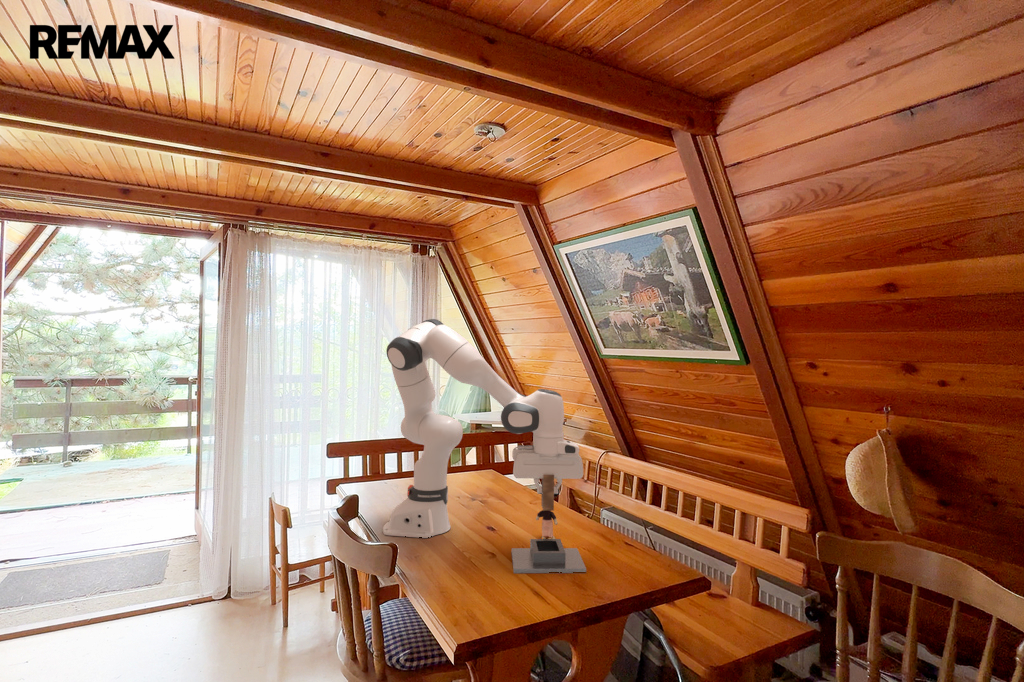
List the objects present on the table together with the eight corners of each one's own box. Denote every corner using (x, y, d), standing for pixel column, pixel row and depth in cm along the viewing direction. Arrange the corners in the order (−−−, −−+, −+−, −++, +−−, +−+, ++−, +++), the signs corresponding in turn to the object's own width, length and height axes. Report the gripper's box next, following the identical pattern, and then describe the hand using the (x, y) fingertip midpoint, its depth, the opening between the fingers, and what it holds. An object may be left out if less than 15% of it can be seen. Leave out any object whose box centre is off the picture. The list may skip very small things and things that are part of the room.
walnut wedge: (543, 510, 152) (543, 475, 152) (541, 505, 157) (541, 471, 157) (553, 510, 152) (554, 475, 152) (551, 505, 157) (552, 471, 157)
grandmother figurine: (559, 537, 175) (560, 498, 175) (556, 541, 171) (557, 502, 171) (537, 534, 177) (537, 496, 178) (533, 538, 174) (534, 499, 174)
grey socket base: (513, 573, 147) (514, 555, 147) (511, 552, 162) (511, 536, 162) (586, 572, 148) (586, 555, 148) (577, 552, 163) (577, 536, 163)
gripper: (513, 447, 151) (512, 496, 151) (584, 447, 152) (584, 496, 152) (512, 443, 158) (511, 490, 158) (581, 443, 159) (580, 490, 158)
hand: (547, 493), depth 155 cm, fingers closed on walnut wedge, 3 cm apart
